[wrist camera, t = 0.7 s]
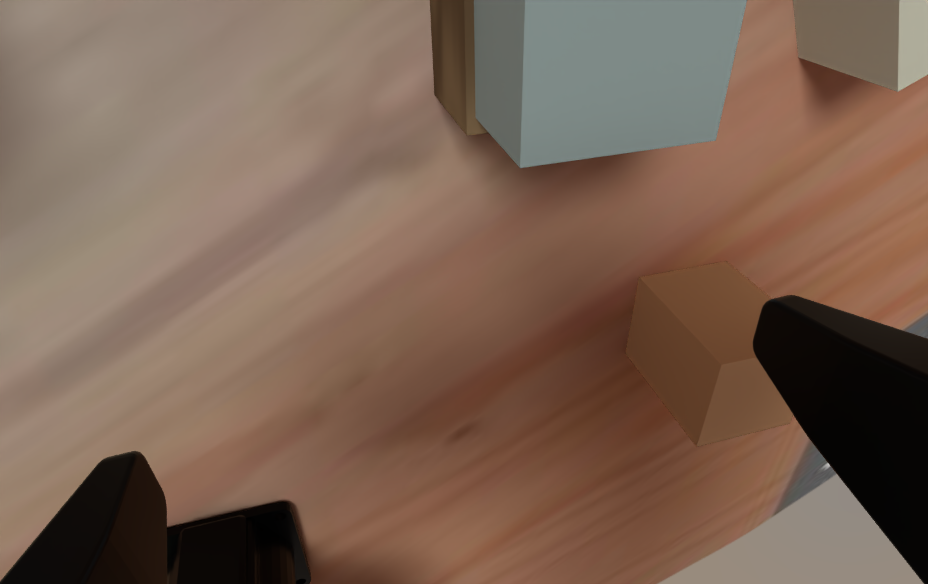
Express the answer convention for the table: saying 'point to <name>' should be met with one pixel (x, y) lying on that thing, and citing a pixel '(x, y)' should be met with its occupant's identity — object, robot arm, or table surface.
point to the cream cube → (866, 38)
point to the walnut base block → (455, 61)
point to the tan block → (704, 351)
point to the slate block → (601, 74)
